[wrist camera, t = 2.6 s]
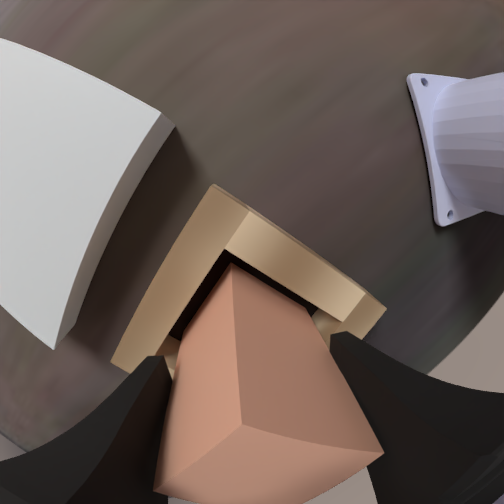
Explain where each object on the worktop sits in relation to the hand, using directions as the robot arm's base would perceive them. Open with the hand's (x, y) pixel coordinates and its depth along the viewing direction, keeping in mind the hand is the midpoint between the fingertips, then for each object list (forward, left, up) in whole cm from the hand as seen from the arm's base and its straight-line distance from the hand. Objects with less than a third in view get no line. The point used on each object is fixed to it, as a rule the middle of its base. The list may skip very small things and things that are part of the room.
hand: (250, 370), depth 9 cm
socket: (0, 0, -4) cm, 4 cm away
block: (0, 0, -3) cm, 3 cm away
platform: (+8, -10, -4) cm, 14 cm away
